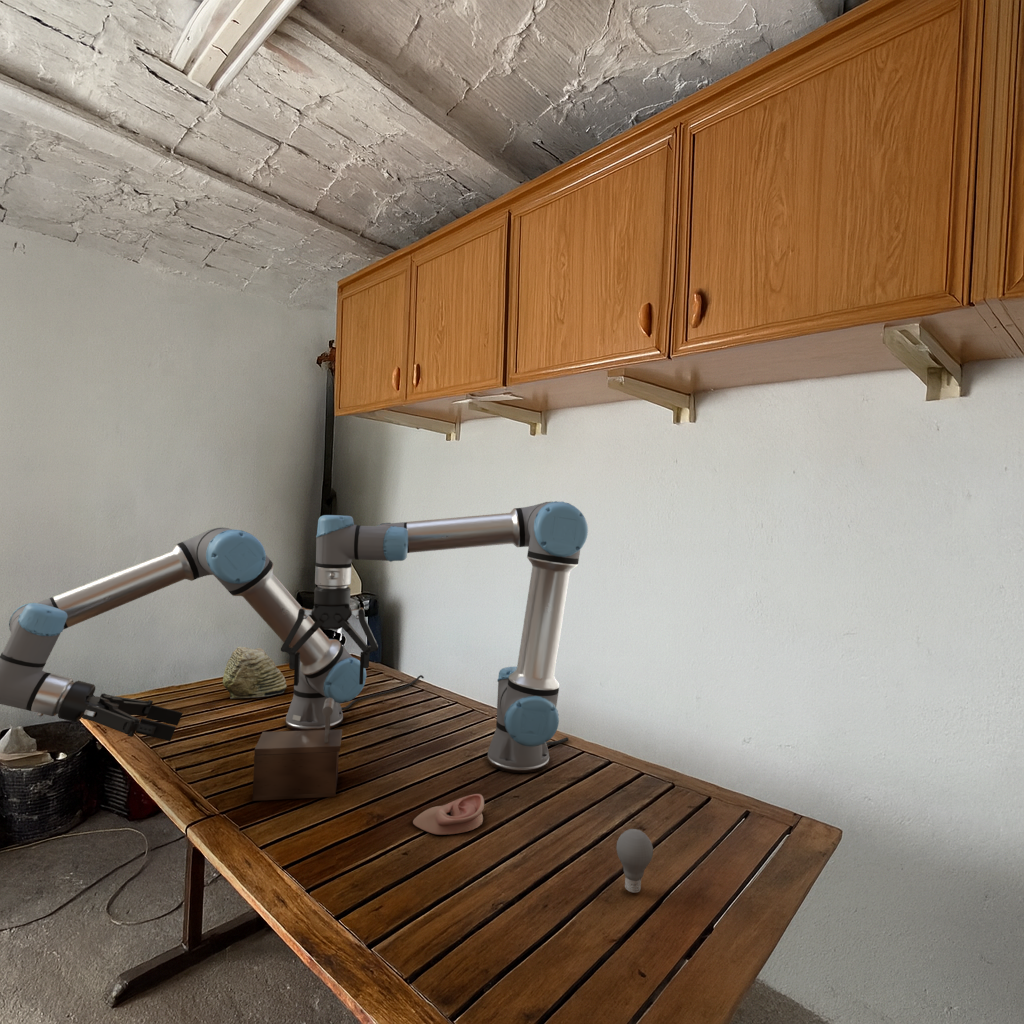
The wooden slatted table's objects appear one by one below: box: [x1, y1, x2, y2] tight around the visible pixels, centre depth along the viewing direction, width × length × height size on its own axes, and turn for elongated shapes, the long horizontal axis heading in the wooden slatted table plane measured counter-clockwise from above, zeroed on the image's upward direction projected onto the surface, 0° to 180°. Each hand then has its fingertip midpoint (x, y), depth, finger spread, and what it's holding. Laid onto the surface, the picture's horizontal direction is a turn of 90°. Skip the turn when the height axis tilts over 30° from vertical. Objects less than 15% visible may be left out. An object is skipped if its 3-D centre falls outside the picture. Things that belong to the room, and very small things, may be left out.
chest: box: [252, 752, 340, 802], centre depth 137 cm, size 16×10×10 cm, turn 102°
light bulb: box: [615, 828, 654, 894], centre depth 106 cm, size 6×6×10 cm
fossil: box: [222, 646, 288, 699], centre depth 198 cm, size 9×18×15 cm, turn 132°
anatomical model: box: [412, 793, 485, 836], centre depth 126 cm, size 13×4×12 cm
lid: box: [253, 698, 343, 755], centre depth 137 cm, size 17×10×9 cm, turn 102°
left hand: (177, 726), depth 133 cm, fingers open, 13 cm apart
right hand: (329, 683), depth 138 cm, fingers open, 13 cm apart
